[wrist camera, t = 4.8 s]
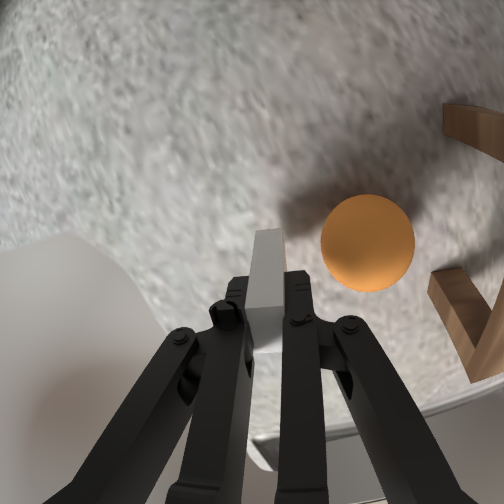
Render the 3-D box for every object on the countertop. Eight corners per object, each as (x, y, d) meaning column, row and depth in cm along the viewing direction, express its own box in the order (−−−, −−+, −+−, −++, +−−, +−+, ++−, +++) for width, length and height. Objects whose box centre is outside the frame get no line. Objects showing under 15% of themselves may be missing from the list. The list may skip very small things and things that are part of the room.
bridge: (427, 292, 21) (470, 383, 13) (442, 103, 14) (548, 137, 6) (456, 287, 21) (504, 371, 13) (477, 106, 13) (581, 144, 6)
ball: (427, 226, 12) (416, 186, 16) (310, 213, 14) (329, 178, 18) (406, 318, 14) (404, 263, 19) (310, 304, 17) (328, 254, 21)
